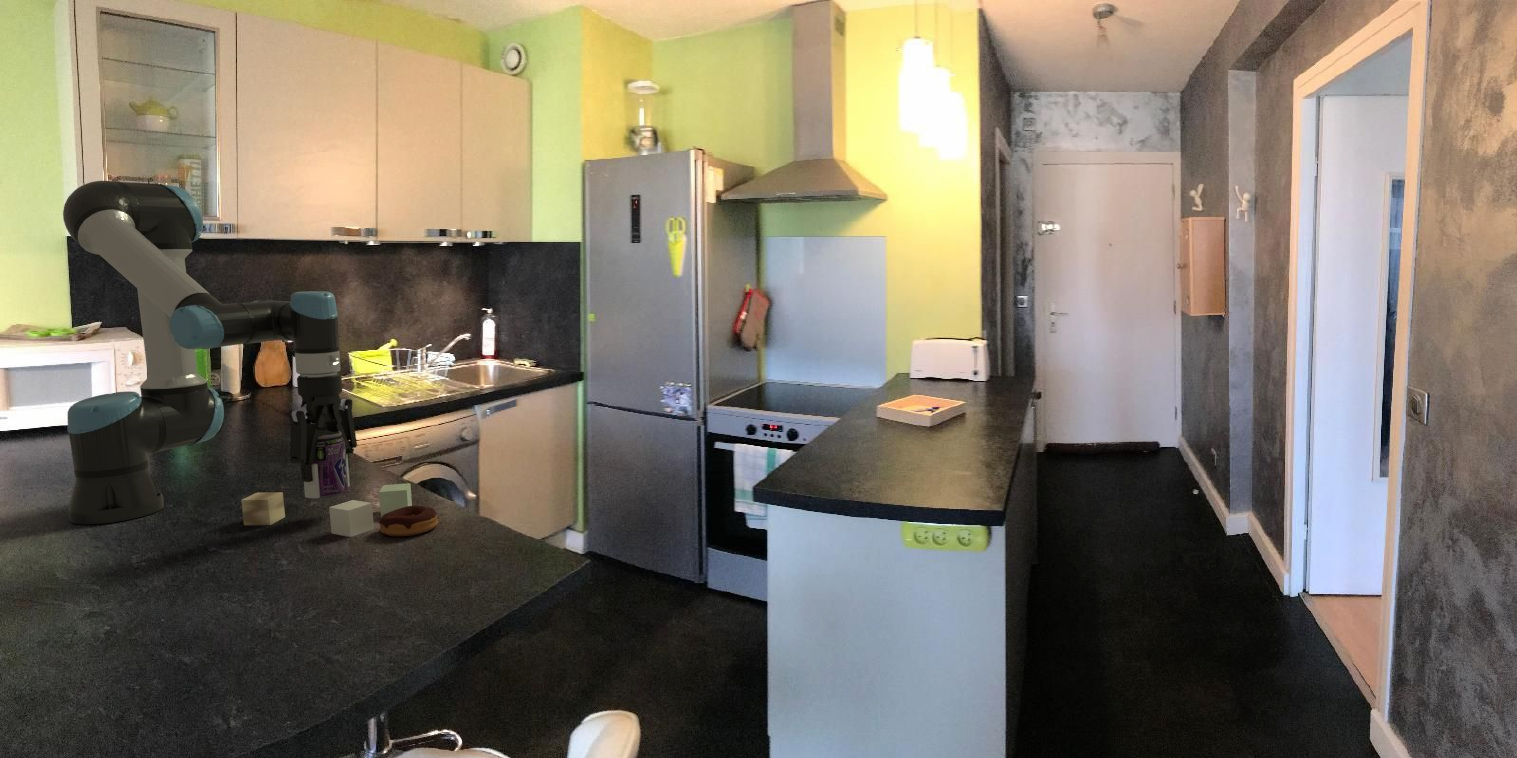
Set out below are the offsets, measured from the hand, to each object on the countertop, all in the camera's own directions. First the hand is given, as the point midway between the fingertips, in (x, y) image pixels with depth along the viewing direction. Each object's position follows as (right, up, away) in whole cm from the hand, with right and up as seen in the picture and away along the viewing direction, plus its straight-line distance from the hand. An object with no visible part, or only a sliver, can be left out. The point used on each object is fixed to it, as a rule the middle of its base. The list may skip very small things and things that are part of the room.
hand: (327, 491), depth 165 cm
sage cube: (+12, -5, +4) cm, 13 cm away
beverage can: (0, -1, 0) cm, 1 cm away
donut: (+19, -6, -7) cm, 21 cm away
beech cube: (-11, -6, -1) cm, 13 cm away
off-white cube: (+9, -6, -8) cm, 13 cm away
